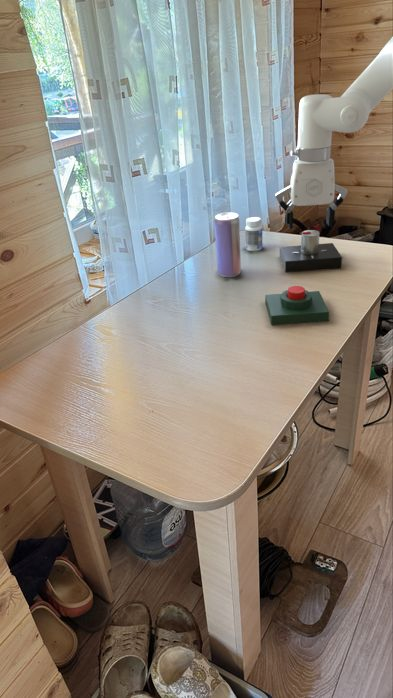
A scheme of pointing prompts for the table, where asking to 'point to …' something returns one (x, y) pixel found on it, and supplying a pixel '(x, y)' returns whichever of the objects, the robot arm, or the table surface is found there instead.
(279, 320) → the button block
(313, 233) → the knob
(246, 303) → the table surface
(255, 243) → the pill bottle
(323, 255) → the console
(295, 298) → the button
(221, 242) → the beverage can
